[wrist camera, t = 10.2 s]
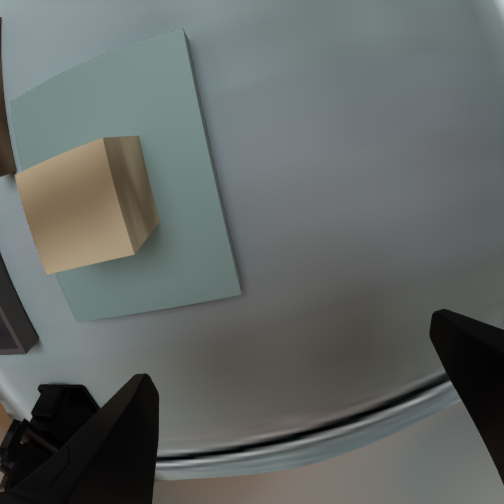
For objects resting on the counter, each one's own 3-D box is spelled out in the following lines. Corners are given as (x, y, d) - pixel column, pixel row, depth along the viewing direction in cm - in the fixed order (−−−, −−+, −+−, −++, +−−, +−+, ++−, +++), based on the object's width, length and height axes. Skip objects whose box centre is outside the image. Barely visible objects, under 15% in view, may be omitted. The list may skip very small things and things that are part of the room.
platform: (240, 280, 21) (241, 294, 19) (87, 308, 21) (77, 322, 19) (187, 38, 15) (182, 28, 13) (26, 103, 15) (10, 102, 13)
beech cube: (159, 221, 17) (134, 254, 12) (86, 240, 17) (46, 274, 12) (138, 135, 15) (102, 137, 11) (64, 161, 15) (14, 175, 11)
